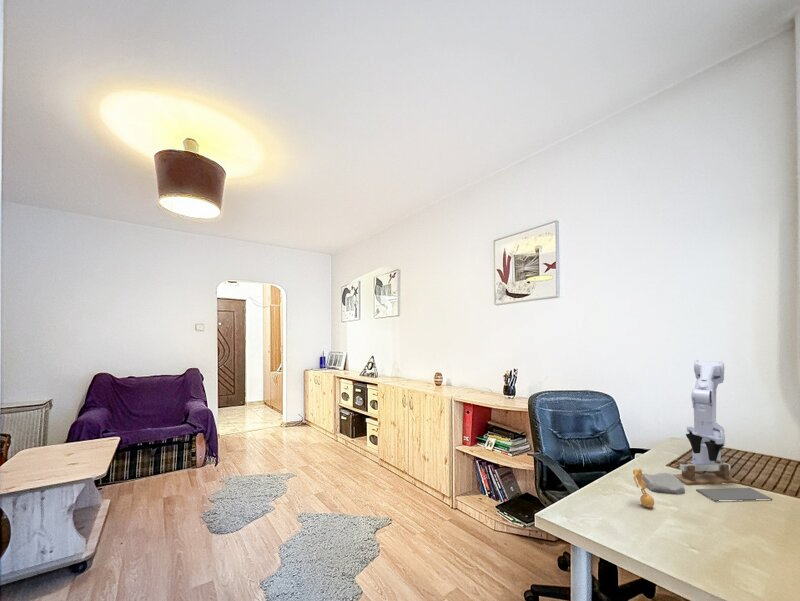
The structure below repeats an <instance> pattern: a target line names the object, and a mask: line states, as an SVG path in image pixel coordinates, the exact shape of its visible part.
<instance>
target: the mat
mask: <svg viewBox="0 0 800 601" xmlns="http://www.w3.org/2000/svg"><path fill="white" fill-rule="evenodd" d="M695 491H696V492H698V493H699V494H700V493H701V494H700V495H702V494H703V495H702V496H704V495H705V496H707V497H709V498H711V499H712V500H714V501H719V500H756V499H772V500H773V498H772V497H770V496H768V495H767V494H764V493H762V492H761V491H760V492H759V491H758V490H756V489H754V488H752V487H733V488H732V487H729V488H725V487H724V488H697V489H695ZM705 496H704V497H705ZM707 497H706V498H707ZM709 498H708V499H709ZM712 500H711V501H712ZM714 501H713V502H714Z"/></svg>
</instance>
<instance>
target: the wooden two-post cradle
mask: <svg viewBox="0 0 800 601" xmlns="http://www.w3.org/2000/svg"><path fill="white" fill-rule="evenodd" d="M714 462H715V463H722V460H721V461H714ZM681 464H689V463H688V461H684V460H683V461H681ZM727 464H728V463H727ZM727 464H722V468H723V470H719V471H714V472H712V473H711V472H710V473H709V472H707V473H696V471H695V466H693V465H689V471H682V470H681V473H679V474H677V473H676V474H675V473H674V474H673V473H672V475H674V476H676V478H678V479H679V480H680V481H681V482H682V484H683V485H684V486H702V485H703V486H704V485H707V484H712V485H723V484H722V483H739V484H740V480H738V479H736V478H734V477H732V476H730V470H729V465H730V464H729V465H727Z"/></svg>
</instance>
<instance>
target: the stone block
mask: <svg viewBox="0 0 800 601" xmlns="http://www.w3.org/2000/svg"><path fill="white" fill-rule="evenodd" d="M642 474H643V475H644V476H645V477H646V479H647V480H646V479H645V478H644V477H643V476H642V480H643V481H644V483H645V484H646V485H647V489H648V490H650V491H652V492H658V493H665V494H666V493H667V494H674V493H675V495H678V494H680V493H681V494H685V492H686V490H685V484H684V483H682V482H681V481H680V480H679V479H678V478H676V476H674V475H673V473H672V474H671V473H669V472H661V473H660V472H659V473H655V474H648V473H645V472H644V473H642Z"/></svg>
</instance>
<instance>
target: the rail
mask: <svg viewBox="0 0 800 601" xmlns="http://www.w3.org/2000/svg"><path fill="white" fill-rule="evenodd" d="M722 464H727V465H729V471H731V464H730V463H727V462H721V463H700V464H693V463H688V464H682V463H680V464H679V470H681V472H682V471H689V465H693V466H695V472H715V471H719V470H723V468H722Z"/></svg>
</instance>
